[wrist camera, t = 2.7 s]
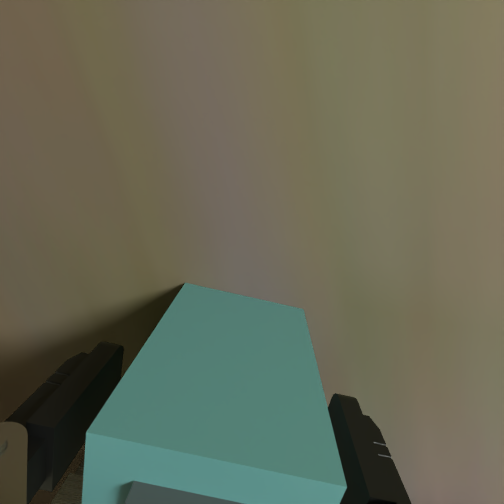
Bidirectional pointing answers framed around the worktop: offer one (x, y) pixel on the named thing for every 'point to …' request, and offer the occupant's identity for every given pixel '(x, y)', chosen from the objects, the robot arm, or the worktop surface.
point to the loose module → (217, 412)
